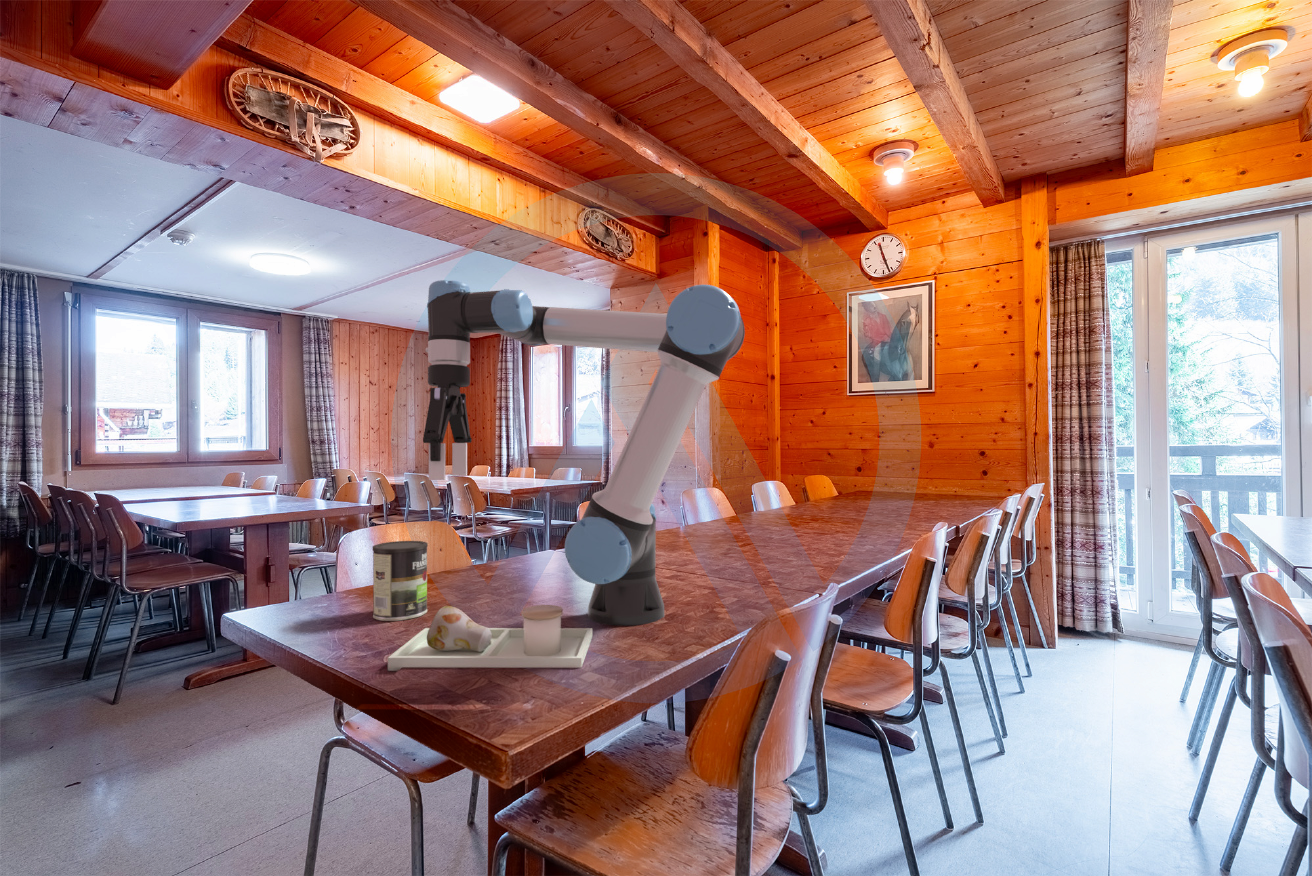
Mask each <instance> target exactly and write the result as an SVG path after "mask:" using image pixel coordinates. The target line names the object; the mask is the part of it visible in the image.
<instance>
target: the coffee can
mask: <svg viewBox="0 0 1312 876" xmlns="http://www.w3.org/2000/svg"><path fill="white" fill-rule="evenodd" d="M428 546H429V543H428V542H426V541H421V540H399V541H388V542H382V543H377V544H375V545H373V546H372V551H373V552H372V553H373V554H372V559H373V561H372V562H373V564H372V565H373V567H372V569H373V572H372V573H373V576H372V578H373V579H372V581H373V582H372V583H373V587H372V588H373V593H372V594H373V596H372V597H373V610H372V611H373V612H372V613H373V615H372V618H373V619H374V620H377V621H383V622H398V621H405V620H406V621H407V620H411V619H416V618H420V617H422V616H424V615H426V614H427V613H428Z"/></svg>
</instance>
